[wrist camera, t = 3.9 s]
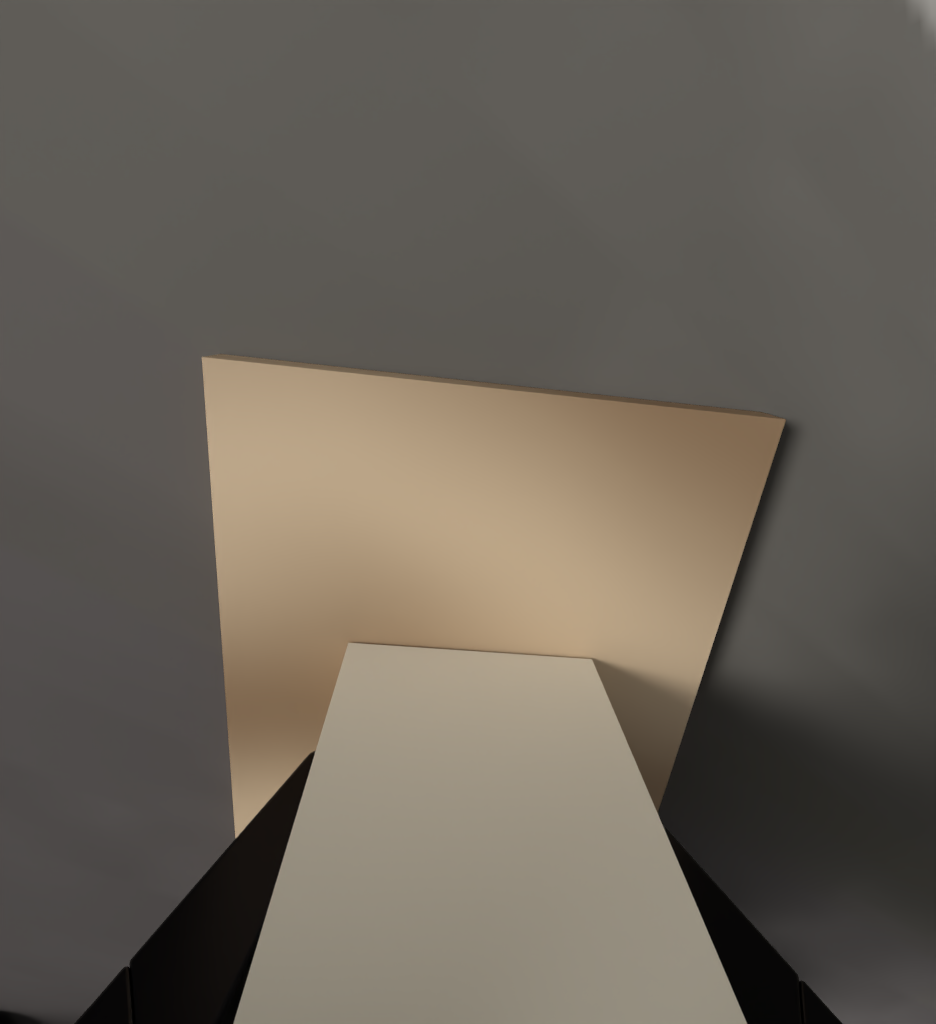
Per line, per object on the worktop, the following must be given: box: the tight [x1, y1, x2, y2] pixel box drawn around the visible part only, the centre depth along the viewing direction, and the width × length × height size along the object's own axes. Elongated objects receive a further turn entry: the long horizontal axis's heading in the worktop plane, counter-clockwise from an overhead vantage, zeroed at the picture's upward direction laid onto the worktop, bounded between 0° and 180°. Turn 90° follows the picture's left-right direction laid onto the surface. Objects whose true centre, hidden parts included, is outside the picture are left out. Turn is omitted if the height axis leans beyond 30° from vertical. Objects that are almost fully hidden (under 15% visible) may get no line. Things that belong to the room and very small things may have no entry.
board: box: [202, 354, 786, 838], centre depth 9 cm, size 13×8×1 cm, turn 174°
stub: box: [233, 643, 747, 1024], centre depth 7 cm, size 4×4×5 cm
